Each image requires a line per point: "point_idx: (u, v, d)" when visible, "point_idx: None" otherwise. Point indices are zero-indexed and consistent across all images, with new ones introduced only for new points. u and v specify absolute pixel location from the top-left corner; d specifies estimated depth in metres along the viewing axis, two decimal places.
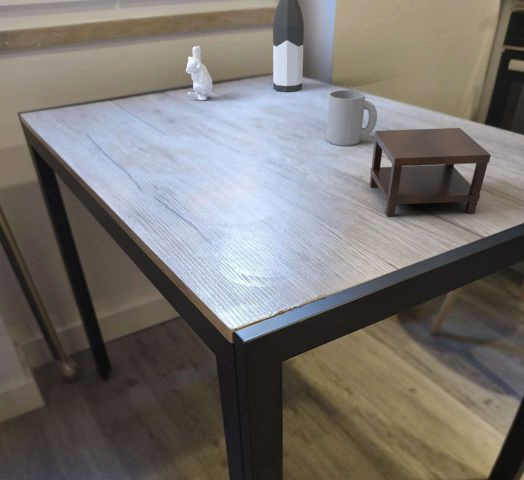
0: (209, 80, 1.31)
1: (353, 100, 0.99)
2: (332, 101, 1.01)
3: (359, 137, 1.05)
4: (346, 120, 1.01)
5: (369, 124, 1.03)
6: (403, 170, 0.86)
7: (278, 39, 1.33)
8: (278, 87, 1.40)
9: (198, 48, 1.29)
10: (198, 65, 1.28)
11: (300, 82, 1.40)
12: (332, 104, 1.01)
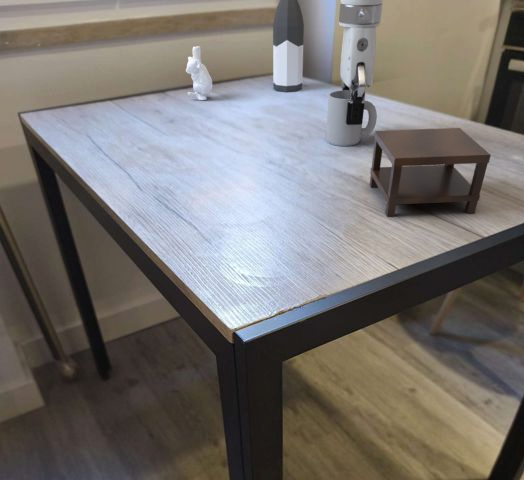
0: (209, 80, 1.31)
1: None
2: (332, 101, 1.00)
3: (359, 137, 1.05)
4: None
5: (369, 124, 1.03)
6: (403, 170, 0.86)
7: (278, 39, 1.33)
8: (278, 87, 1.40)
9: (198, 48, 1.29)
10: (198, 65, 1.28)
11: (300, 82, 1.40)
12: (332, 104, 1.01)
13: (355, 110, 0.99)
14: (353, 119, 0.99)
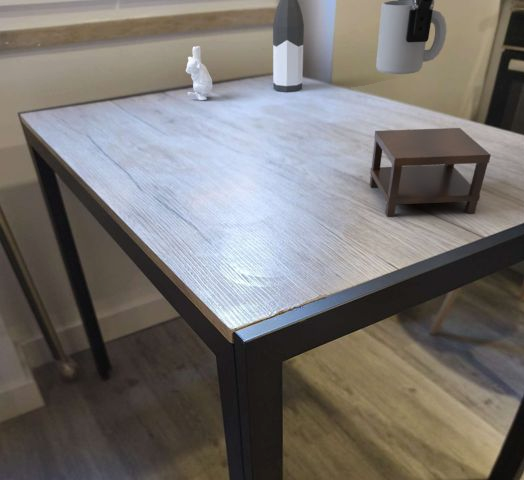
0: (209, 80, 1.31)
1: None
2: (387, 11, 0.75)
3: (421, 62, 0.79)
4: None
5: (435, 43, 0.77)
6: (403, 170, 0.86)
7: (278, 39, 1.33)
8: (278, 87, 1.40)
9: (198, 48, 1.29)
10: (198, 65, 1.28)
11: (300, 82, 1.40)
12: (387, 15, 0.75)
13: (420, 20, 0.73)
14: (417, 33, 0.74)
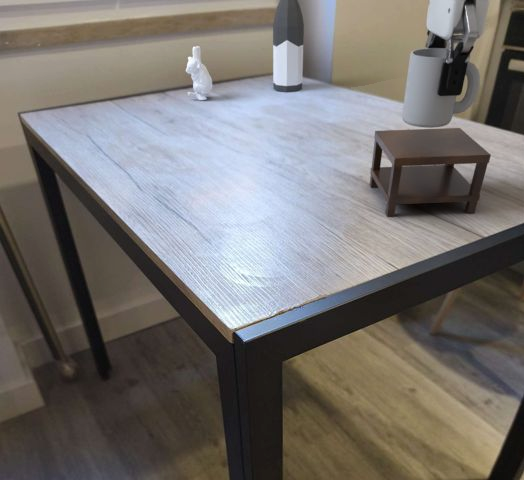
0: (209, 80, 1.31)
1: None
2: (418, 62, 0.69)
3: (451, 115, 0.74)
4: (437, 90, 0.70)
5: (468, 96, 0.72)
6: (403, 170, 0.86)
7: (278, 39, 1.33)
8: (278, 87, 1.40)
9: (198, 48, 1.29)
10: (198, 65, 1.28)
11: (300, 82, 1.40)
12: (417, 67, 0.70)
13: (454, 74, 0.68)
14: (450, 87, 0.69)
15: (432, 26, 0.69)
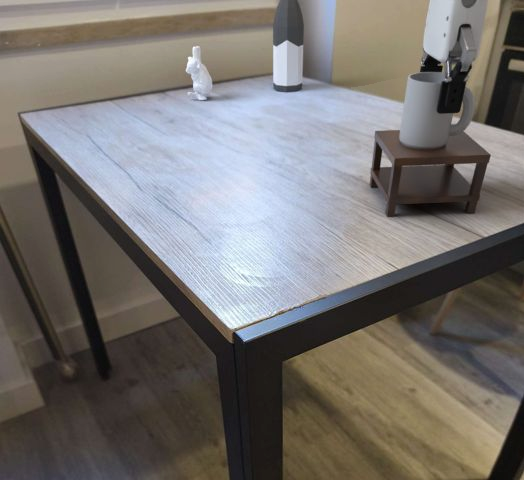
0: (209, 80, 1.31)
1: None
2: (415, 87, 0.71)
3: (447, 137, 0.76)
4: (434, 113, 0.72)
5: (463, 119, 0.74)
6: (403, 170, 0.86)
7: (278, 39, 1.33)
8: (278, 87, 1.40)
9: (198, 48, 1.29)
10: (198, 65, 1.28)
11: (300, 82, 1.40)
12: (414, 91, 0.72)
13: (453, 92, 0.68)
14: (449, 105, 0.69)
15: (428, 48, 0.71)
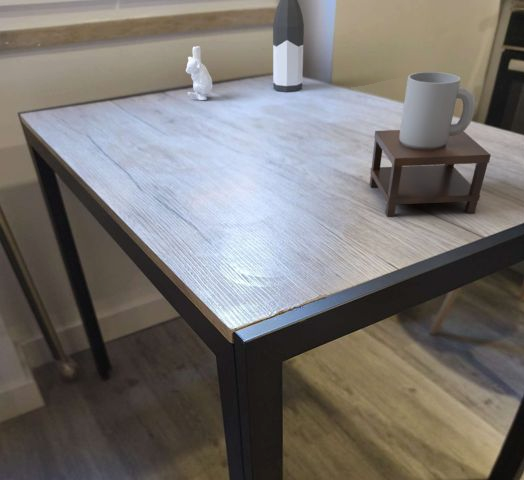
0: (209, 80, 1.31)
1: (447, 85, 0.70)
2: (415, 87, 0.71)
3: (447, 137, 0.76)
4: (434, 114, 0.72)
5: (463, 119, 0.74)
6: (403, 170, 0.86)
7: (278, 39, 1.33)
8: (278, 87, 1.40)
9: (198, 48, 1.29)
10: (198, 65, 1.28)
11: (300, 82, 1.40)
12: (414, 91, 0.72)
13: None
14: None
15: None
